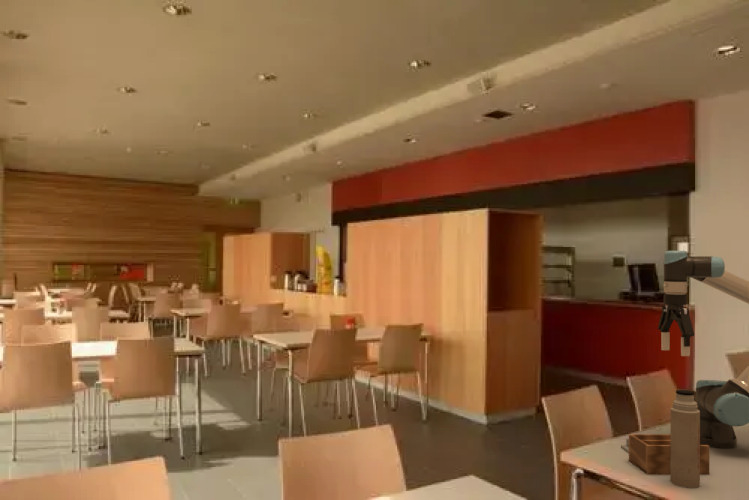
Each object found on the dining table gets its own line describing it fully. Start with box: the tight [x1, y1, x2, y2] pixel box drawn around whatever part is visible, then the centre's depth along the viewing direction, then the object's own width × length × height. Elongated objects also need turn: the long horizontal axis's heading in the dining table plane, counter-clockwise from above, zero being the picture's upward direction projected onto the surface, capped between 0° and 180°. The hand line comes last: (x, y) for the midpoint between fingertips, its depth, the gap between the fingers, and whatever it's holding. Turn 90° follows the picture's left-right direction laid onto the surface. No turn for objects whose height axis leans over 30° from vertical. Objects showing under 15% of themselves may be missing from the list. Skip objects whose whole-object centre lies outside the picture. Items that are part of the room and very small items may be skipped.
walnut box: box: [628, 433, 710, 476], centre depth 200 cm, size 20×13×9 cm, turn 92°
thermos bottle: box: [669, 389, 701, 489], centre depth 186 cm, size 8×8×28 cm
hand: (675, 353), depth 218 cm, fingers open, 13 cm apart
